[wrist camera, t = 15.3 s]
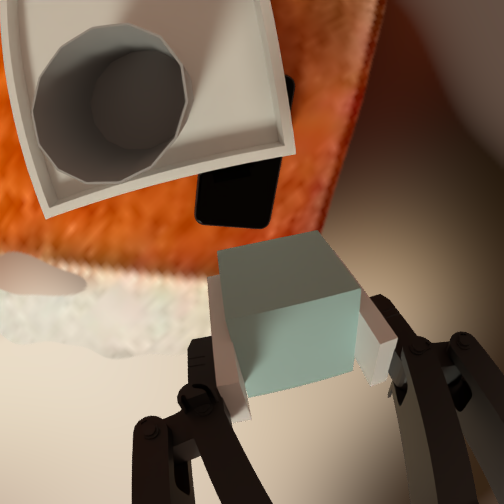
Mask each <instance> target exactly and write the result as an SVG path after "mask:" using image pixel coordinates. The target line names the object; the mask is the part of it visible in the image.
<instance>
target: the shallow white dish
mask: <svg viewBox="0 0 504 504" xmlns="http://www.w3.org/2000/svg"><path fill="white" fill-rule="evenodd" d="M0 23H1V39H2V50H3V59H4V67H5V74H6V80H7V86H8V92H9V97H10V103H11V107H12V112H13V117H14V121H15V125H16V129H17V133H18V137H19V141H20V145H21V148H22V152H23V155H24V159H25V162H26V165H27V168H28V171H29V175H30V178H31V181H32V184H33V186H34V189H35V192H36V195H37V198H38V200H39V203H40V206H41V208H42V211H43V214H44V216H45V219H48V218H50V217H53V216H56V215H59V214H62V213H64V212H67V211H70V210H73V209H76V208H79V207H82V206H85V205H88V204H91V203H94V202H98V201H101V200H104V199H107V198H110V197H114V196H117V195H120V194H124V193H127V192H131V191H134V190H138V189H141V188H145V187H148V186H152V185H156V184H159V183H163V182H167V181H171V180H175V179H179V178H183V177H187V176H191V175H195V174H199V173H204V172H208V171H212V170H217V169H221V168H226V167H231V166H235V165H240V164H245V163H250V162H255V161H260V160H266V159H271V158H276V157H282V156H288V155H294V154H296V149H295V142H294V134H293V127H292V120H291V114H290V107H289V100H288V94H287V88H286V82H285V76H284V70H283V64H282V58H281V53H280V47H279V42H278V37H277V32H276V26H275V21H274V16H273V12H272V7H271V2H270V0H0ZM120 23H130V24H133V25H136V26H138V27H141V28H143V29H146V30H148V31H150V32H153V33H155V34H158V35H160V36H162V38H163V39H164V40H165V42H166V43H167V44H168V45H169V47H170V48H171V49H172V51H173V52H174V53H175V55H176V56H177V57H178V59H179V60H180V61H181V63H182V64H183V66H184V67H185V69H186V71H187V72H188V74H189V75H190V77H191V83H192V90H193V97H194V101H193V104H192V107H191V111H190V114H189V117H188V120H187V123H186V124H185V126H184V128H183V129H182V131H181V133H180V134H179V136H178V138H177V139H176V140H175V141H174V143H173V144H172V145H171V146H170V147H169V148H168V150H167V151H166V152H165V153H164V154H163V155H162V157H161V158H160V159H159V160H158V161H157V162H156V164H155V165H154V166H153V167H152V168H151V169H149V170H147V171H144V172H142V173H140V174H138V175H136V176H134V177H132V178H130V179H128V180H126V181H124V182H122V183H120V184H84V183H82V182H80V181H78V180H76V179H74V178H72V177H70V176H67V175H65V174H63V173H61V172H59V171H57V170H56V168H55V167H54V166H53V164H52V163H51V162H50V160H49V159H48V158H47V157H46V155H45V154H44V153H43V151H42V150H41V149H40V147H39V146H38V143H37V139H36V134H35V130H34V125H33V119H32V114H31V110H32V105H33V100H34V95H35V91H36V86H37V82H38V78H39V76H40V74H41V73H42V71H43V70H44V69H45V67H46V66H47V64H48V63H49V61H50V60H51V58H52V57H53V56H54V54H55V53H56V52H57V50H58V49H59V48H60V46H62V45H63V44H65V43H66V42H68V41H70V40H71V39H73V38H74V37H76V36H78V35H79V34H81V33H82V32H84V31H86V30H88V29H89V28H91V27H95V26H102V25H110V24H120Z"/></svg>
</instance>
